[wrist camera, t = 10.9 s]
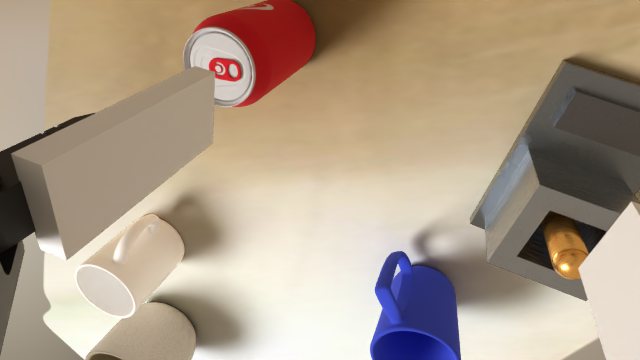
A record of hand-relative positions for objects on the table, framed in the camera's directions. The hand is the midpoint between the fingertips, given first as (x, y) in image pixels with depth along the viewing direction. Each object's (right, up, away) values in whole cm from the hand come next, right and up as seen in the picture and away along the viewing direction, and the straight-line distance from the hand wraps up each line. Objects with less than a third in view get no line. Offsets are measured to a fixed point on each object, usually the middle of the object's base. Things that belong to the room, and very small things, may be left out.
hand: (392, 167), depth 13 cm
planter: (-26, -23, +52) cm, 62 cm away
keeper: (+19, 0, +21) cm, 28 cm away
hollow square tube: (+18, -3, +22) cm, 29 cm away
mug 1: (-24, -7, +41) cm, 48 cm away
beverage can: (-5, +13, +23) cm, 27 cm away
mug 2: (+8, -11, +32) cm, 34 cm away
